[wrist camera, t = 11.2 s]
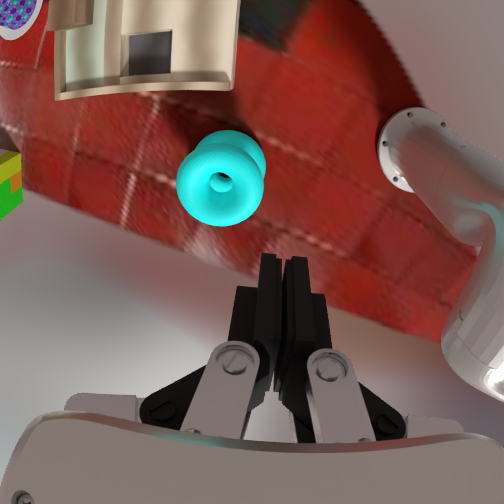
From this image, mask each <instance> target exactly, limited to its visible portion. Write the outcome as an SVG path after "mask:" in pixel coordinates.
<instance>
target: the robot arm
mask: <svg viewBox="0 0 504 504" xmlns="http://www.w3.org/2000/svg"><path fill="white" fill-rule="evenodd" d="M407 113H409V115H407ZM383 141H385V143H384V144H382V143H383ZM377 155H378V161H379V164H380V167H381V169H382V171H383V173H384V174H385V176H386V177H387V178H388V179H389V181H390V182H391V183H392V184H394V185H395V186H397V187H398V188H400V189H402V190H404V191H408V192H415V193H416V194H417V195H418V197H419V198H420V199H421V200H422V201H423V202H424V203H425V205H426V206H427V207H428V208H429V209H430V210H431V212H432V213H433V214H434V215H435V216H436V218H437V219H438V220H439V221H440V222H441V224H442V225H443V226H444V227H445V228H446V230H447V231H448V232H449V233H450V234H451V235H452V236H453V237H454V238H456V239H457V240H458V241H460V242H462V243H464V244H467V245H471V246H479V247H480V246H481V251H480V253H479V255H478V258H477V260H476V262H475V264H474V267H473V270H472V272H471V274H470V276H469V278H468V280H467V282H466V284H465V286H464V287H463V289H462V291H461V293H460V295H459V297H458V299H457V300H456V302H455V304H454V306H453V308H452V310H451V311H450V313H449V315H448V317H447V319H446V321H445V324H444V327H443V330H442V336H441V345H442V350H443V353H444V356H445V358H446V360H447V362H448V363H449V365H450V366H451V368H452V369H453V370H454V371H455V372H456V373H457V374H458V375H459V376H460V377H461V378H462V379H463V380H464V381H466V382H467V383H469V384H470V385H472V386H473V387H475V388H477V389H478V390H480V391H482V392H484V393H486V394H488V395H490V396H492V397H494V398H496V399H498V400H500V401H502V402H504V161H502V160H501V159H499V158H498V157H496V156H494V155H493V154H491V153H489V152H487V151H485V150H484V149H482V148H480V147H479V146H477V145H475V144H473V143H472V142H470V141H468V140H466V139H464V138H463V137H461V136H459V135H457V134H455V133H453V132H452V129H451V128H450V126H449V125H448V123H447V122H446V121H445V119H444V118H443V117H442V116H440V115H439V114H437V113H436V112H434V111H432V110H430V109H426V108H423V107H410V108H406V109H403V110H400V111H399V112H397V113H396V114H394V115H393V116H392V117H391V118H390V119H389V120H388V121H387V122H386V124H385V125H384V126H383V128H382V131H381V133H380V135H379V139H378V145H377ZM394 177H395V178H394ZM273 373H274V388H273V389H274V392H279V400H280V401H282V404H283V405H284V406H285V407H286V408H287V409H289V418H290V425H291V431H292V438H293V443H280V442H264V441H252V440H244V436H245V432H246V429H247V426H248V422H249V418H250V415H251V410H252V409H254V408H255V407H257V406H258V405H260V404H261V403H262V402H263V400H264V396H265V391H269V389H270V385H271V381H272V376H273ZM0 504H504V449H503V448H502V446H501V445H500V444H499V443H498V442H497V441H495V440H493V439H491V438H488V437H486V436H483V435H479V434H473V433H464V430H463V428H462V426H461V425H460V424H459V423H458V422H456V421H454V420H451V419H441V418H432V417H424V416H415V415H409V414H408V415H407V416H406V417H403V416H401V414H400V413H399V412H398V411H396V410H395V409H394V408H392V407H391V406H390V405H388V404H387V403H386V402H384V401H383V400H381V399H380V398H379V397H378V396H376V395H375V394H373V392H371V391H370V390H369V389H367V388H366V387H365V386H363V385H362V384H361V383H360V382H358V381H357V378H356V375H355V372H354V369H353V366H352V363H351V361H350V360H349V358H348V357H347V356H346V355H345V354H343V353H341V352H340V351H338V350H334V349H332V343H331V335H330V328H329V320H328V313H327V306H326V299H325V295H324V294H317V293H311V288H310V278H309V270H308V261H307V257H297V256H292V258H291V260H288V259H286V261H285V267H284V273H283V279H282V259H279V258H276V254H269V253H262V254H261V263H260V272H259V280H258V288H255V287H245V286H237V289H236V296H235V301H234V307H233V313H232V318H231V324H230V330H229V336H228V341H227V342H224V343H222V344H220V345H219V346H217V347H216V348H215V349H214V350H213V352H212V353H211V356H210V358H209V361H208V363H207V365H205V366H203V367H201V368H199V369H198V370H196V371H194V372H192V373H191V374H189V375H187V376H185V377H183V378H181V379H179V380H177V381H175V382H174V383H172V384H170V385H168V386H166V387H164V388H162V389H160V390H158V391H156V392H154V393H152V394H151V395H149V396H148V397H146V398H137V397H136V395H111V394H92V393H79V394H75V395H73V396H71V397H70V398H69V399H68V401H67V402H66V405H65V408H64V411H57V412H51V413H46V414H43V415H40V416H38V417H37V418H35V419H34V420H33V421H32V422H31V423H30V424H29V425H28V426H27V428H26V429H25V430H24V432H23V434H22V435H21V437H20V439H19V441H18V443H17V445H16V447H15V449H14V451H13V453H12V456H11V458H10V460H9V463H8V466H7V468H6V471H5V474H4V476H3V479H2V483H1V486H0Z"/></svg>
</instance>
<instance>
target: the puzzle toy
mask: <svg viewBox="0 0 504 504" xmlns="http://www.w3.org/2000/svg"><path fill="white" fill-rule="evenodd" d="M22 202H23V191H22V176H21V153H18V152H13V151H9V150H4V149H0V220H1V219H2V218H3V217H5V216H6V215H7V214H8V213H9V212H11V211H12V210H13V209H14V208H15V207H17V206H18V205H19V204H21V203H22Z"/></svg>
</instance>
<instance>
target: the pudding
mask: <svg viewBox="0 0 504 504" xmlns="http://www.w3.org/2000/svg"><path fill="white" fill-rule="evenodd" d="M35 1H36V0H0V35H1V36H2V37H3V38H4V39H7V40H14V39H16V38H19V37H20V36H22V35H23V34H24V33H25V32H26V31H27V30H28V29H29V28H30V27H31V25H32V24H33V23H34V21H35V19H36V18H37V16H38V13H39V11H40V9H41V6H42V2H43V0H37V4H36V7H35ZM34 9H35V10H34ZM32 13H33V14H32ZM31 14H32V16H31V18H30V19H29V20H28V18H29V16H30V15H31ZM27 21H28V22H27ZM26 22H27V23H26ZM24 24H25V25H24ZM23 25H24V26H23ZM19 26H22V27H21V28H19V29H17V28H18V27H19ZM9 28H10V29H9ZM11 29H14V30H11ZM15 29H17V30H15Z"/></svg>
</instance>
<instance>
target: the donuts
mask: <svg viewBox="0 0 504 504" xmlns="http://www.w3.org/2000/svg"><path fill="white" fill-rule="evenodd" d="M265 170H266V163H265V157H264V154H263V152H262V150H261V148H260V147H259V145H258V144H257V143H256V142H255V141H254V140H253V139H252V138H251V137H249V136H247V135H246V134H244V133H241V132H238V131H233V130H222V131H217V132H214V133H212V134H210V135H208V136H206V137H205V138H204V139H203V140H202V141H201V142H200V143H199V144H198V145H197V147H196V148H195V150H194V151H192V152H191V153H190V154H189V155H188V156H187V157H186V158H185V159H184V160H183V162H182V163H181V165H180V167H179V170H178V173H177V179H176V188H177V193H178V197H179V199H180V201H181V203H182V205H183V206H184V208H185V209H186V210H187V211H188V212H189V213H190V214H191V215H192V216H193V217H194V218H196V219H198V220H199V221H201V222H204V223H206V224H209V225H214V226H229V225H233V224H237V223H239V222H241V221H243V220H245V219H246V218H248V217H249V216H250V215H251V214H252V213H253V212H254V211H255V210H256V209H257V207H258V205H259V204H260V201H261V199H262V195H263V189H264V182H263V179H264V175H265ZM218 172H222V173H225V174H227V175H228V176H229V177H230V178H225V177H222V176H221V175H220V174H219V173H218Z"/></svg>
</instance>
